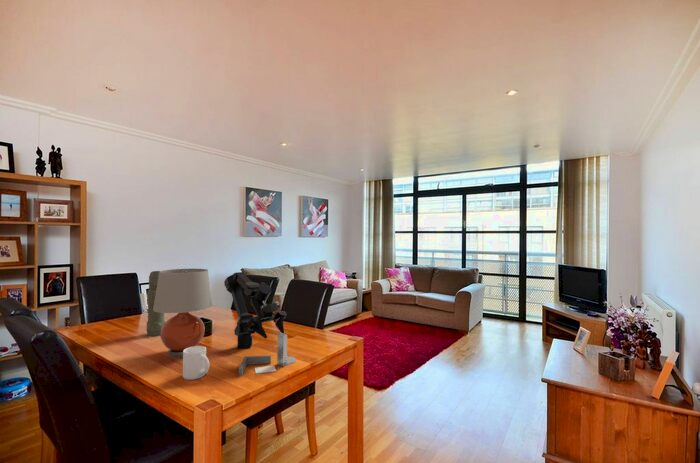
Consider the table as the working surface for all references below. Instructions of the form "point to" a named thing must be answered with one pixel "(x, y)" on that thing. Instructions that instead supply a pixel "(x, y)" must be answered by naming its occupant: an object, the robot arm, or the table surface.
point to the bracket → (283, 351)
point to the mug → (195, 362)
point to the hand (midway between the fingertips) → (275, 335)
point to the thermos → (154, 318)
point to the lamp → (182, 307)
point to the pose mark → (265, 369)
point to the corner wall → (253, 361)
